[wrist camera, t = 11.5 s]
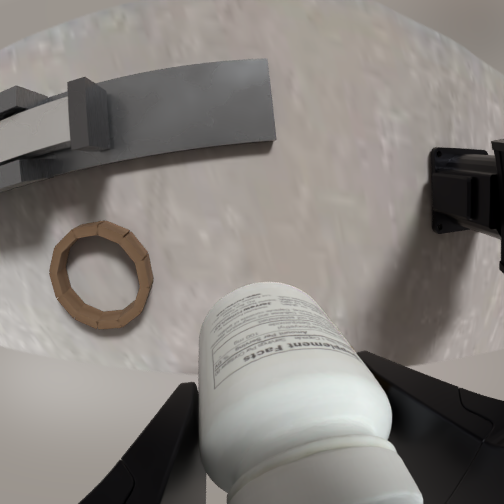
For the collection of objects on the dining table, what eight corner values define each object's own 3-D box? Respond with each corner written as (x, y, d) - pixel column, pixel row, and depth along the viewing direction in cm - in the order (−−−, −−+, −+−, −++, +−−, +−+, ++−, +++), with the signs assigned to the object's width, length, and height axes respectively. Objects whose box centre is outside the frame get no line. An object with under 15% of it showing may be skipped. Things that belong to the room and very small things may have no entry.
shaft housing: (264, 61, 18) (280, 33, 13) (273, 142, 19) (293, 136, 14) (-44, 139, 15) (-83, 139, 11) (-38, 205, 17) (-77, 216, 12)
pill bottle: (299, 392, 12) (371, 563, 4) (187, 376, 11) (186, 580, 4) (341, 293, 11) (491, 451, 3) (216, 264, 10) (245, 487, 3)
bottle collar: (141, 214, 19) (136, 218, 18) (161, 313, 21) (158, 324, 20) (50, 230, 19) (40, 235, 17) (74, 321, 20) (67, 331, 19)
